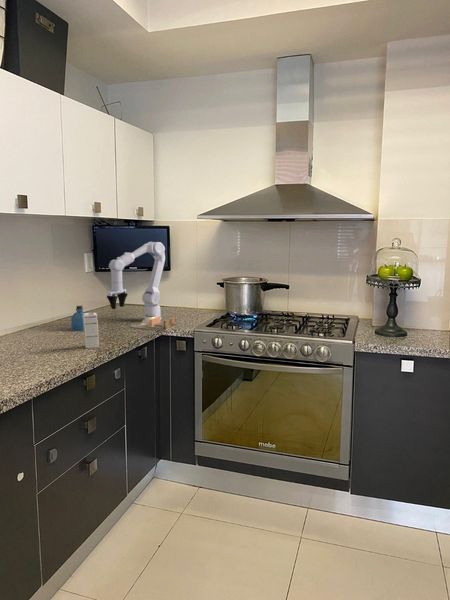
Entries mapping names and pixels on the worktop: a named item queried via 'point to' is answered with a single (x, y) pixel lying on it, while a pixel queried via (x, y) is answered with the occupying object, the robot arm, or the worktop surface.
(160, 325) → the pusher
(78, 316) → the perfume bottle
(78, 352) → the worktop surface
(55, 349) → the worktop surface
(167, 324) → the lane
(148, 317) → the jar
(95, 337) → the syrup box
